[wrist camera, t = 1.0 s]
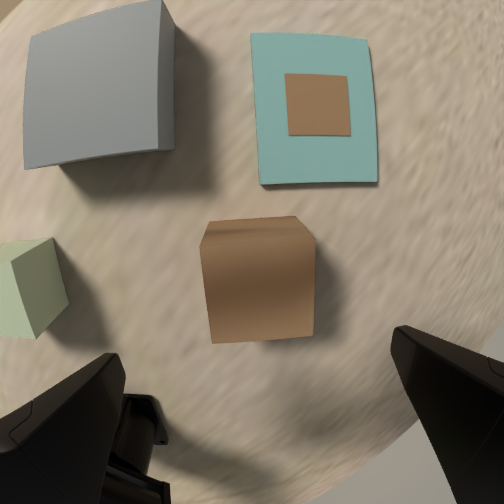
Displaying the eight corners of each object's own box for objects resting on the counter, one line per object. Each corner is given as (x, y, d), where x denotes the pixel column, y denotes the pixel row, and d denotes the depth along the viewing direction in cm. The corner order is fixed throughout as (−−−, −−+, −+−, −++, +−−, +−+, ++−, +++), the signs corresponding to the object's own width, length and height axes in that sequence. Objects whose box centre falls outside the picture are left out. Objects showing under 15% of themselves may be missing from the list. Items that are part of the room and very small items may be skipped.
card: (374, 180, 17) (378, 181, 17) (259, 183, 17) (260, 184, 17) (364, 42, 15) (367, 39, 14) (250, 36, 14) (250, 32, 14)
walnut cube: (296, 293, 20) (312, 335, 15) (217, 298, 19) (212, 343, 15) (295, 215, 18) (315, 238, 13) (209, 221, 18) (199, 246, 13)
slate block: (175, 149, 17) (158, 148, 13) (60, 164, 16) (24, 170, 13) (176, 26, 14) (161, -2, 10) (63, 52, 14) (30, 37, 10)
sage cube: (69, 303, 19) (36, 339, 14) (23, 302, 19) (-12, 334, 14) (53, 236, 18) (10, 261, 13) (6, 242, 17) (-35, 265, 13)
